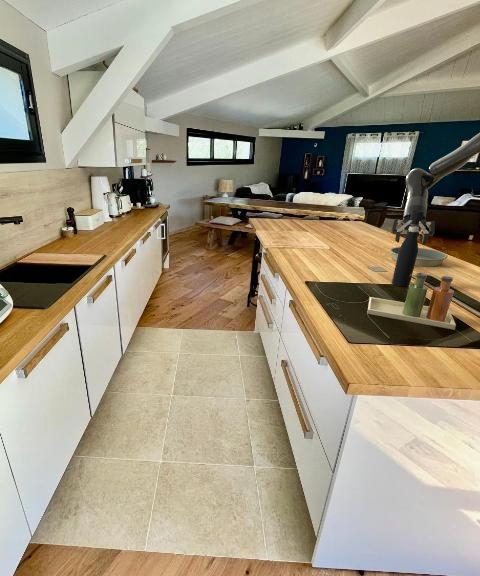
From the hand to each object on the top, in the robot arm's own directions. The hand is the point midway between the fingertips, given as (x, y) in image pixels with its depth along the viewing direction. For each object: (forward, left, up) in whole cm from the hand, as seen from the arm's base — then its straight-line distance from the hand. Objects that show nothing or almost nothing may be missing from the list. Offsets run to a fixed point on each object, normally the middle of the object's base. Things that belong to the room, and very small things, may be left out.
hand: (410, 242), depth 125 cm
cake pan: (-8, -44, -18) cm, 48 cm away
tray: (-1, +33, -18) cm, 38 cm away
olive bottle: (-2, +33, -17) cm, 37 cm away
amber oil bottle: (-8, +33, -17) cm, 38 cm away
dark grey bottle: (0, 0, -18) cm, 18 cm away
